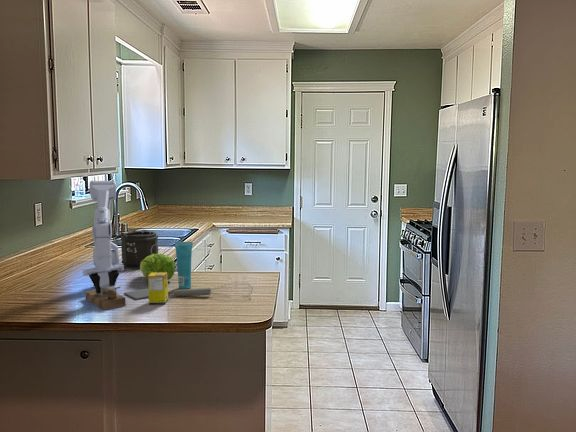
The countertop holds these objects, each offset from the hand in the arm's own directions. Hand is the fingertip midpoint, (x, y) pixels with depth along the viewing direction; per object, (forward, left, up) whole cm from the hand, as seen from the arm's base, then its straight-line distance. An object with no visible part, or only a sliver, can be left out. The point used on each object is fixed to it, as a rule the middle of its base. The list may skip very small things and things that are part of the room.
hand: (104, 292), depth 193 cm
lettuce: (-21, +30, -4) cm, 37 cm away
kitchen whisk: (+19, +34, -4) cm, 39 cm away
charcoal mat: (-1, +15, -4) cm, 16 cm away
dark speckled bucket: (-55, +39, -4) cm, 67 cm away
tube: (0, +33, -4) cm, 33 cm away
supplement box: (+13, +15, -4) cm, 20 cm away
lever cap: (0, 0, -1) cm, 1 cm away
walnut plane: (0, 0, -4) cm, 4 cm away
